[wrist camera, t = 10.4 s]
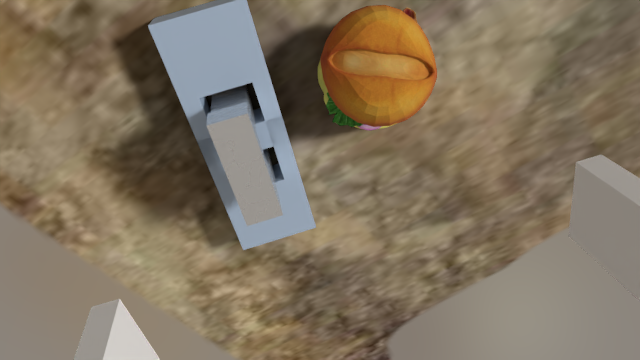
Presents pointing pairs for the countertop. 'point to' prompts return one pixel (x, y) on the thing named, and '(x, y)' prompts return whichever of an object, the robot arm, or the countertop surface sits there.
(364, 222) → the countertop surface
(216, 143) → the clip
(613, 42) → the countertop surface
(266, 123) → the rail
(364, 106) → the cheeseburger
